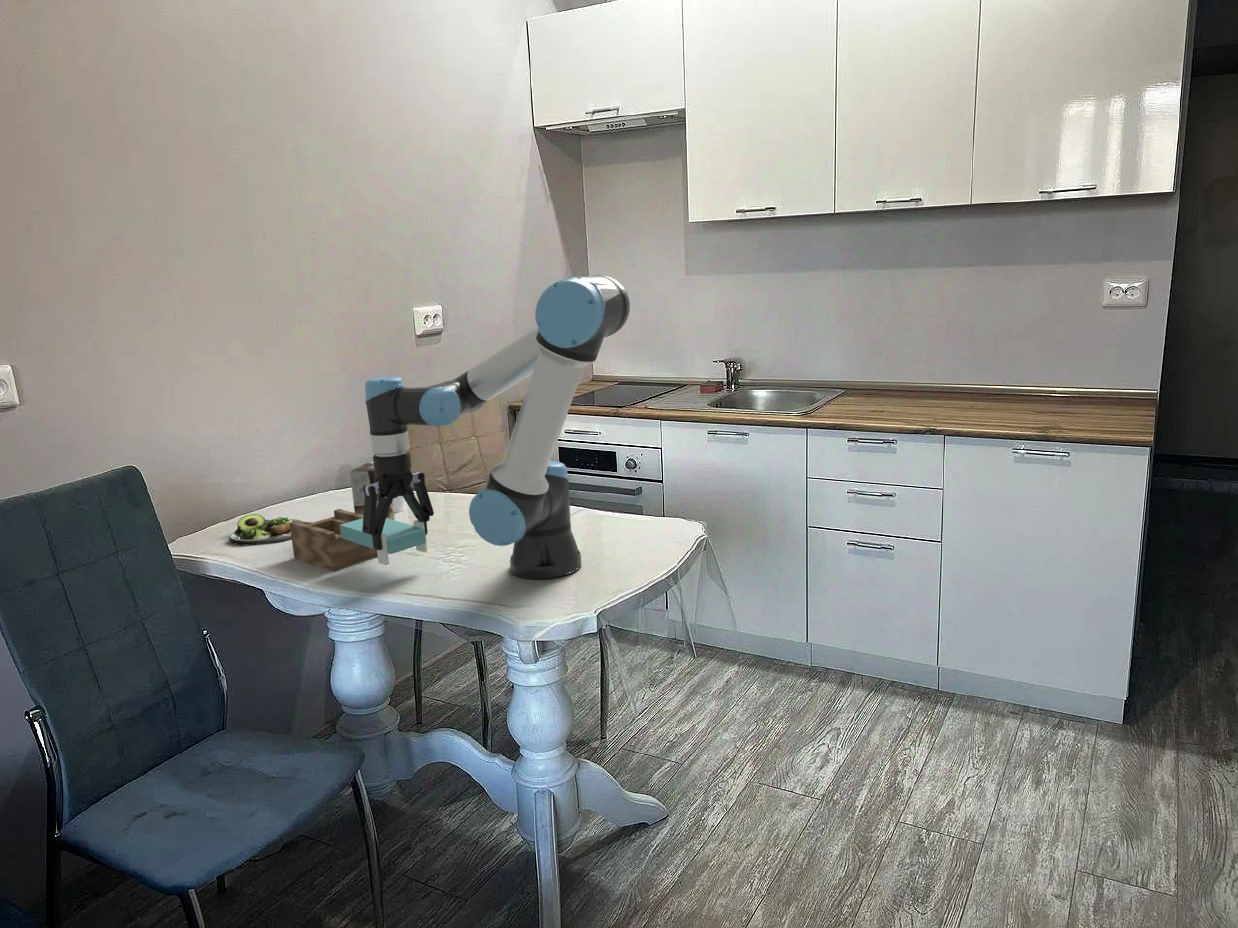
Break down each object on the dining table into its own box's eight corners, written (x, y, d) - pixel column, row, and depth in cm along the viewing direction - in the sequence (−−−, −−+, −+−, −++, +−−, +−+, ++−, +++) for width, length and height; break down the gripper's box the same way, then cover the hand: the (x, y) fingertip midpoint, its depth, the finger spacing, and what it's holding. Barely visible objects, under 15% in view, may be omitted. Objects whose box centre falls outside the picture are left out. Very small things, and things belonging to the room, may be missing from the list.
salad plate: (320, 520, 244) (318, 504, 242) (307, 541, 226) (305, 523, 225) (244, 527, 241) (241, 510, 240) (225, 549, 224) (222, 530, 223)
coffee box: (380, 534, 228) (373, 470, 224) (356, 534, 229) (348, 470, 226) (396, 523, 237) (389, 461, 233) (372, 523, 238) (365, 462, 234)
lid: (426, 542, 197) (425, 529, 196) (390, 554, 190) (389, 540, 190) (376, 527, 208) (374, 514, 208) (341, 538, 202) (339, 524, 201)
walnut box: (383, 554, 212) (379, 519, 210) (333, 571, 203) (328, 534, 201) (343, 543, 223) (339, 508, 221) (294, 558, 213) (289, 522, 211)
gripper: (422, 440, 201) (433, 540, 206) (334, 461, 185) (348, 568, 190) (444, 444, 196) (454, 545, 201) (356, 465, 180) (369, 575, 185)
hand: (403, 556), depth 196 cm, fingers closed on lid, 9 cm apart
